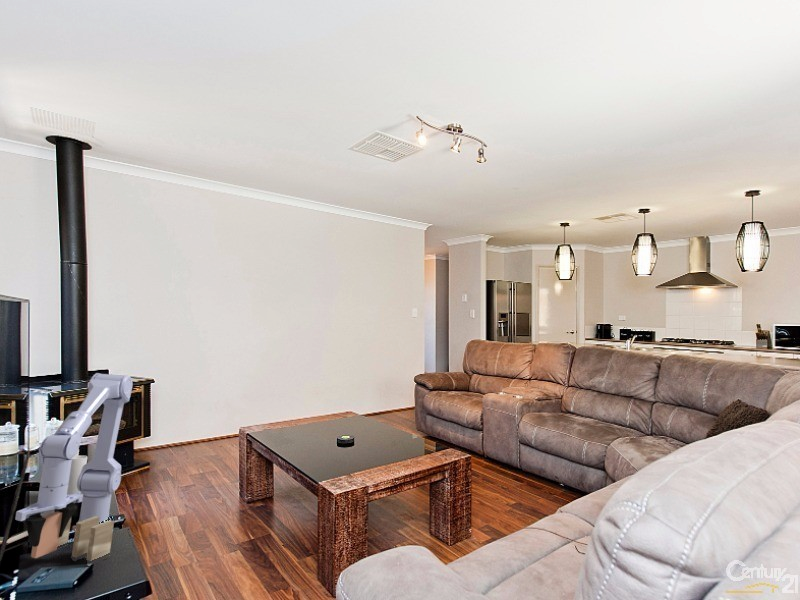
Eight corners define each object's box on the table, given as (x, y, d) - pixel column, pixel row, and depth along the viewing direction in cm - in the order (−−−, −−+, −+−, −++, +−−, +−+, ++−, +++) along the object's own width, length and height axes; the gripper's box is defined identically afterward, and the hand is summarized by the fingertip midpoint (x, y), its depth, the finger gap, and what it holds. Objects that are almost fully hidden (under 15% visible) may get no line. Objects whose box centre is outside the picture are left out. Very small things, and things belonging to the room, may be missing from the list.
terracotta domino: (30, 556, 108) (36, 518, 109) (52, 548, 112) (57, 511, 113) (35, 558, 107) (41, 519, 108) (57, 549, 112) (62, 512, 113)
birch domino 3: (85, 565, 110) (91, 527, 111) (104, 556, 115) (109, 520, 116) (90, 566, 110) (95, 528, 111) (109, 557, 115) (114, 521, 115)
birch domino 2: (71, 560, 112) (76, 523, 113) (90, 551, 117) (95, 516, 118) (75, 561, 112) (81, 524, 112) (94, 553, 116) (99, 517, 117)
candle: (37, 505, 141) (47, 441, 143) (41, 497, 148) (50, 436, 149) (80, 501, 147) (89, 439, 149) (82, 494, 153) (91, 434, 155)
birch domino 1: (43, 551, 115) (48, 514, 116) (63, 543, 120) (68, 508, 121) (47, 552, 115) (53, 516, 115) (67, 544, 119) (72, 509, 120)
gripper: (34, 495, 103) (24, 557, 102) (94, 479, 117) (86, 532, 116) (13, 490, 105) (4, 550, 104) (74, 474, 119) (67, 527, 118)
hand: (46, 540), depth 110 cm, fingers closed on terracotta domino, 5 cm apart
